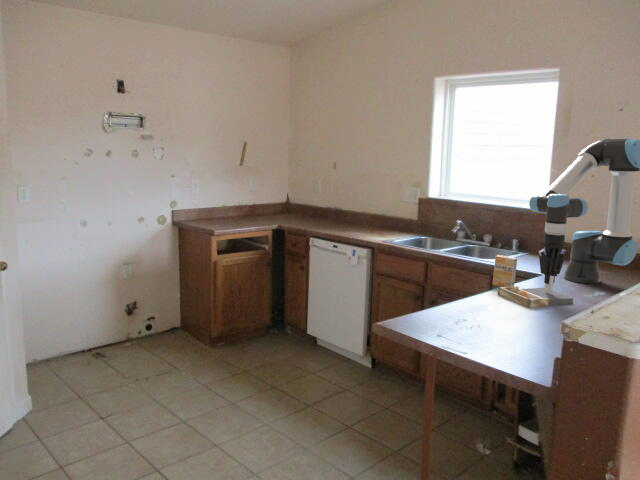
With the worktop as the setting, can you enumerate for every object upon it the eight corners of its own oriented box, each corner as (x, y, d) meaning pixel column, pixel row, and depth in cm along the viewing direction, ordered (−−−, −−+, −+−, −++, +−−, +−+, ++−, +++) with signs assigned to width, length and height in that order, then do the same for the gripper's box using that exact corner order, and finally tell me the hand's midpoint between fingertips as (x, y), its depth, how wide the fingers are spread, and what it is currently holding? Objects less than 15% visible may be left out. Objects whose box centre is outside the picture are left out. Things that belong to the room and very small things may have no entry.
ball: (523, 296, 210) (522, 287, 209) (530, 299, 206) (529, 290, 205) (515, 300, 209) (514, 290, 208) (522, 303, 205) (520, 293, 204)
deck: (543, 292, 221) (544, 287, 221) (572, 303, 206) (573, 298, 206) (517, 293, 217) (518, 289, 216) (545, 305, 202) (546, 300, 202)
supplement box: (491, 285, 229) (494, 256, 227) (495, 283, 233) (498, 254, 231) (510, 289, 224) (514, 259, 222) (514, 287, 228) (517, 257, 226)
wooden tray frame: (516, 293, 218) (517, 286, 217) (547, 306, 201) (548, 298, 200) (498, 294, 215) (498, 287, 214) (528, 307, 198) (529, 299, 198)
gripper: (560, 231, 213) (554, 287, 217) (534, 232, 209) (528, 289, 213) (575, 234, 206) (568, 292, 210) (548, 235, 202) (541, 294, 206)
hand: (548, 291), depth 212 cm, fingers closed
